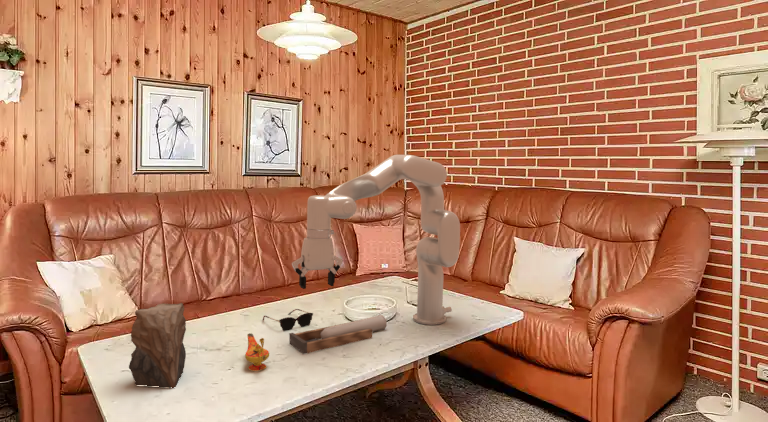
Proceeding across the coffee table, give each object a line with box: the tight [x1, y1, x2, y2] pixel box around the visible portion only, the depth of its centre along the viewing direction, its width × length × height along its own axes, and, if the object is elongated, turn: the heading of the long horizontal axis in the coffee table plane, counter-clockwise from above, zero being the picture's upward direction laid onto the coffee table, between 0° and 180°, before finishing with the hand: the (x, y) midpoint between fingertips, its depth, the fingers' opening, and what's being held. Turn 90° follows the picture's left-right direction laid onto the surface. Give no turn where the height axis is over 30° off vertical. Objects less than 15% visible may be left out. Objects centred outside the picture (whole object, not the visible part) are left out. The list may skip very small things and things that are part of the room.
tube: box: [320, 313, 388, 339], centre depth 175 cm, size 5×5×25 cm
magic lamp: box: [244, 332, 270, 372], centre depth 149 cm, size 7×18×11 cm, turn 27°
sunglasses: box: [262, 308, 314, 332], centre depth 187 cm, size 14×16×5 cm
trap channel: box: [288, 322, 373, 355], centre depth 169 cm, size 26×10×4 cm, turn 125°
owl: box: [128, 302, 187, 389], centre depth 139 cm, size 13×13×20 cm
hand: (317, 286), depth 164 cm, fingers open, 9 cm apart
